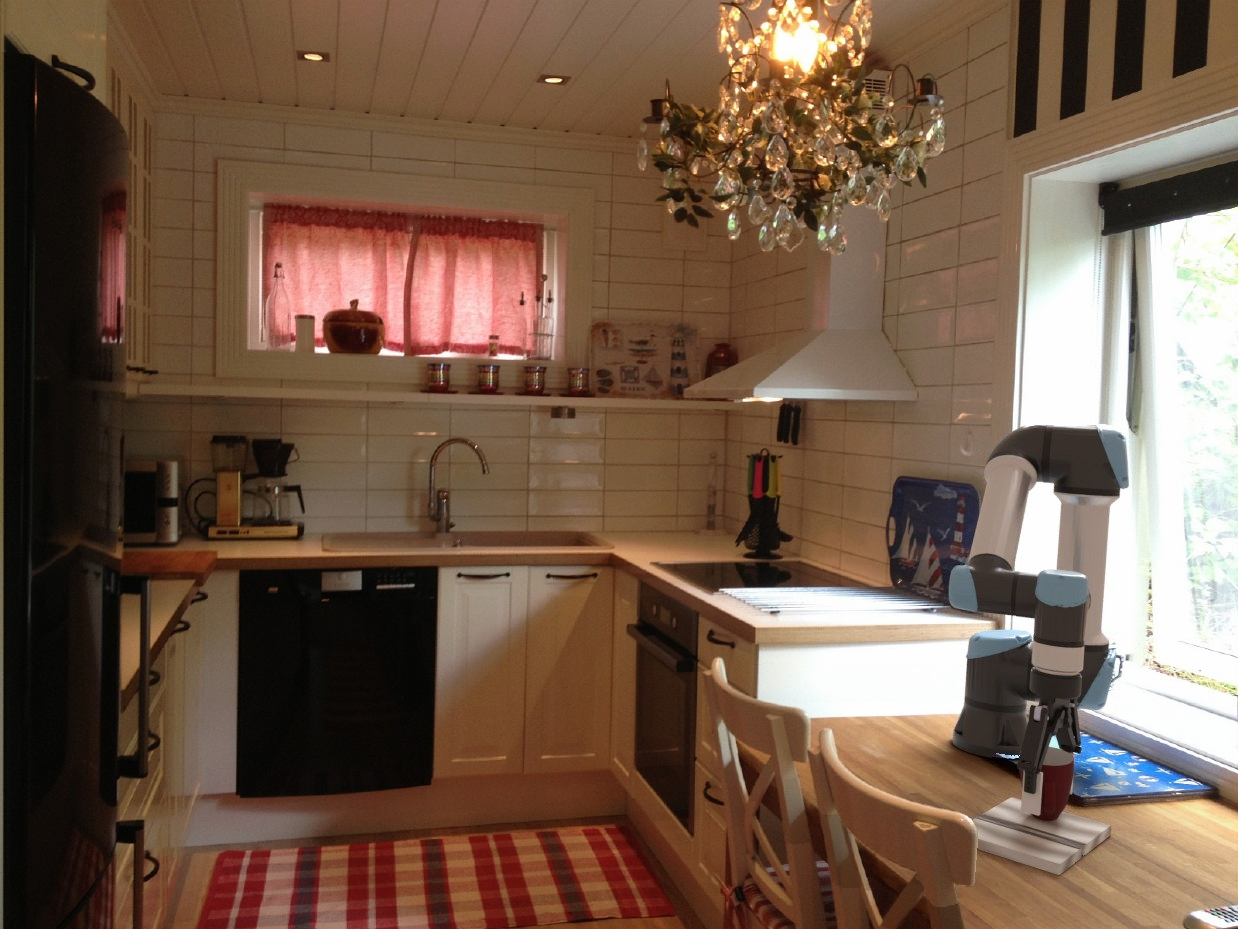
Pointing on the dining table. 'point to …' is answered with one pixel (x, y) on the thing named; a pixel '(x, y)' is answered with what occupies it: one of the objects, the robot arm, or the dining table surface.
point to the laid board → (1026, 846)
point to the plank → (1052, 825)
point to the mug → (1054, 783)
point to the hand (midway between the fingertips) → (1047, 802)
